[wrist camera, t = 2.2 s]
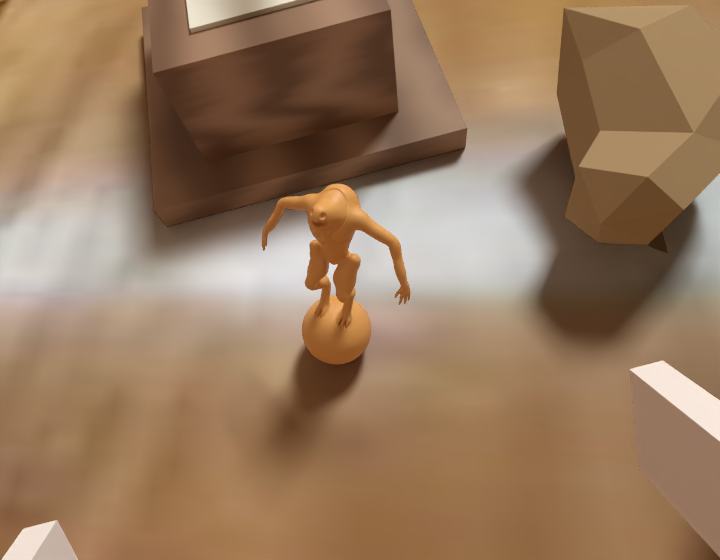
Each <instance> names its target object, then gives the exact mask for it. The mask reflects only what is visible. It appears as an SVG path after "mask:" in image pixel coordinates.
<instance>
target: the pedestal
mask: <svg viewBox="0 0 720 560" xmlns="http://www.w3.org/2000/svg"><path fill="white" fill-rule="evenodd" d="M142 20H143V37H144V54H145V71H146V88H147V105H148V122H149V138H150V155H151V172H152V189H153V206H154V212H155V213H156V214H157V216H158V217H159V218H160V219H161V220H162V221H163V223H164V224H165V225H166V226H167V227H168V226H171V225H175V224H179V223H183V222H186V221H190V220H194V219H198V218H202V217H205V216H209V215H213V214H217V213H220V212H224V211H228V210H232V209H235V208H239V207H243V206H247V205H251V204H254V203H258V202H262V201H266V200H269V199H273V198H277V197H281V196H284V195H288V194H292V193H296V192H300V191H303V190H307V189H311V188H315V187H318V186H322V185H326V184H330V183H333V182H337V181H341V180H345V179H349V178H352V177H356V176H360V175H364V174H367V173H371V172H375V171H379V170H382V169H386V168H390V167H394V166H398V165H401V164H405V163H409V162H413V161H416V160H420V159H424V158H428V157H431V156H435V155H439V154H443V153H446V152H450V151H454V150H458V149H462V148H465V146H466V135H467V127H466V124H465V122H464V120H463V117H462V115H461V113H460V110H459V108H458V106H457V104H456V101H455V99H454V97H453V94H452V92H451V90H450V87H449V85H448V83H447V81H446V78H445V76H444V74H443V71H442V69H441V67H440V64H439V62H438V60H437V57H436V55H435V53H434V51H433V48H432V46H431V44H430V41H429V39H428V37H427V34H426V32H425V30H424V28H423V25H422V23H421V21H420V18H419V16H418V14H417V11H416V9H415V7H414V5H413V2H412V0H148V6H147V7H143V8H142Z"/></svg>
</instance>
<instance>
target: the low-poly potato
mask: <svg viewBox="0 0 720 560" xmlns="http://www.w3.org/2000/svg"><path fill="white" fill-rule="evenodd" d="M557 97H558V101H559V106H560V110H561V115H562V119H563V124H564V129H565V133H566V138H567V142H568V147H569V151H570V156H571V161H572V165H573V170H574V174H575V181H574V184H573V188H572V191H571V195H570V198H569V201H568V205H567V208H566V212H565V215H564V217H565V218H567V219H568V220H569V221H570V222H572V223H573V224H574V225H576V226H577V227H578V228H579V229H581V230H582V231H583V232H585V233H586V234H587V235H588V236H590V237H591V238H592V239H593V240H595V241H596V242H597V243H611V244H635V245H648V246H651V247H653V248H656V249H658V250H661V251H664V252H666V253H668V251H667V248H666V244H665V241H664V237H663V233H662V230H663V229H665V228H666V227H667V226H668V225H669V224H670V223H671V222H672V221H673V220H674V219H675V218H676V217H677V216H678V215H679V214H680V213H681V212H682V211H683V210H684V209H685V208H686V207H687V206H688V205H689V204H690V203H691V202H692V201H693V200H694V199H695V198H696V197H697V196H698V195H699V194H700V193H701V192H702V191H703V190H704V189H705V188H706V187H707V186H708V185H709V184H710V183H711V181H712V180H713V179H714V178H715V177H716V176H717V175H718V174H719V173H720V34H719V33H718V32H717V31H716V30H715V29H714V28H713V27H712V26H711V25H710V24H709V23H708V22H707V21H706V20H705V19H704V18H703V17H702V16H701V15H700V14H699V13H698V12H697V11H696V10H695V9H694V8H693V6H692V5H669V6H626V7H582V8H564V14H563V26H562V37H561V49H560V61H559V73H558V85H557Z"/></svg>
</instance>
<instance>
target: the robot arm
mask: <svg viewBox="0 0 720 560" xmlns="http://www.w3.org/2000/svg"><path fill="white" fill-rule="evenodd" d="M629 370H630V381H631V392H632V403H633V413H634V424H635V435H636V446H637V456H638V467H639V470H640V472H641V473H642V474H643V475H644V476H645V477H646V478H647V479H648V480H649V481H650V482H651V483H652V485H653V486H654V487H655V488H656V489H657V490H658V491H659V492H660V493H661V494H662V495H663V497H664V498H665V499H666V500H667V501H668V502H669V503H670V504H671V505H672V506H673V507H674V508H675V510H676V511H677V512H678V513H679V514H680V515H681V516H682V517H683V518H684V519H685V520H686V521H687V523H688V524H689V525H690V526H691V527H692V528H693V529H694V530H695V531H696V532H697V533H698V534H699V536H700V537H701V538H702V539H703V540H704V541H705V542H706V543H707V544H708V545H709V546H710V547H711V549H712V550H713V551H714V552H715V553H716V554H717V555H718V556H719V557H720V400H718V399H717V398H715V397H714V396H713V395H711V394H710V393H708V392H707V391H705V390H704V389H703V388H701V387H700V386H698V385H697V384H695V383H694V382H692V381H691V380H690V379H688V378H687V377H685V376H684V375H682V374H681V373H680V372H678V371H677V370H675V369H674V368H672V367H671V366H670V365H668V364H667V363H665V362H664V361H659V362H655V363H652V364H648V365H644V366H640V367H636V368H633V369H629ZM2 560H78V558H77V557H76V555H75V553H74V551H73V549H72V547H71V545H70V543H69V542H68V540H67V538H66V536H65V534H64V532H63V530H62V528H61V527H60V525H59V523H58V521H57V520H55V521H51V522H48V523H44V524H40V525H36V526H32V527H29V528H25V529H23V530H22V532H21V533H20V534H19V536H18V537H17V539H16V540H15V541H14V543H13V544H12V546H11V547H10V549H9V550H8V551H7V553H6V554H5V556H4V557H3V558H2Z"/></svg>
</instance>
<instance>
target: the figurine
mask: <svg viewBox="0 0 720 560" xmlns="http://www.w3.org/2000/svg"><path fill="white" fill-rule="evenodd" d="M285 208H287V209H295V210H305V211H307V215H308V223H309V227H310V230H311V232H312V234H313V236H314V237H315V238H316V239H317V240H313V241H312V242H311V243H310V262H309V266H308V270H307V278H306V280H305V285H306V287H307V288H308V289H310V290H317V289H321V288H322V293H321V299H320V300H318V301H317V302H315V303H314V304H313V305H312V306H311V307H310V308H309V310H308V311H307V313H306V315H305V317H304V320H303V324H302V336H303V340H304V343H305V345H306V347H307V349H308V350H309V351H310V353H311V354H312V355H313V356H314V357H316V358H317V359H319V360H320V361H322V362H325V363H328V364H345V363H348V362H350V361H353V360H354V359H356V358H357V357H359V356H360V355H361V354H362V353H363V351H364V350H365V349H366V347H367V345H368V343H369V340H370V336H371V323H370V319H369V316H368V314H367V312H366V311H365V309H364V308H363V307H362V306H361V305H360V304H359V303H358V302H357V301H355V300H353V299H354V296H355V288H354V286H355V283H356V275H357V271H358V268H359V266H360V262H361V260H360V257H359V256H358V255H357V254H352V253H349V251H348V248H349V244H350V242H351V240H352V237H353V235H354V233H355V230H361V231H363V232H365V233H367V234H368V235H370V236H371V237H373V238H375V239H376V240H378V241H380V242H382V243H384V244H386V245H387V246H388V247H389V249H390V253H391V256H392V259H393V263H394V269H395V272H396V275H397V278H398V280H399V282H400V284H401V288H400V289H399V290H398V291H397V293H396V294H395V298H396V297H397V296H398V294H401V295H400V301H399V305H400V304H401V302H402V299H403V297H404V304H405V303H406V301H407V296H408V300H409V299H410V288H409V284H408V282H407V278H406V270H405V267H404V262H403V259H402V253H401V246H400V243H399V241H398V239H397V238H396V237H395V236H394V235H392V234H391V233H390V232H388V231H387V230H386V229H384V228H383V227H382V226H380V225H379V224H377V223H376V222H374V221H373V220H372V219H371V218H370V217H369V216H368V214H366V213H365V212H364V211H363V210H362V209H361V207H360V203H359V200H358V197H357V195H356V194H355V192H354V191H353V190H352V189H351V188H350V187H348V186H347V185H344V184H332V185H329V186H327V187H326V188H325V189H324V190H323V191H321V192H320V193H317V194H307V195H304V196H291V197H284V198H281V199H280V200H279V201H278V202H277V204H276V207H275V210H274V212H273V214H272V215H271V217H270V218H269V219H268V221H267V223H266V226H265V228H264V230H263V234H262V247H263V251H264V250H265V246H267V236H268V233H269V232H270V231H271V230H273V229H274V227H275V226H276V224H277V223H278V221H279V219H280V217H281V216H282V214H283V212H284V209H285ZM329 262H330V263H331V264H333V265H335V264H338V266H337V268H336V270H335V272H334V275H333V282H334V284H335V287H336V295H332V296H330V291H331V282H330V281H329V278H328V277H327V276H326V274H327V272H328V269H329Z"/></svg>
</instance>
